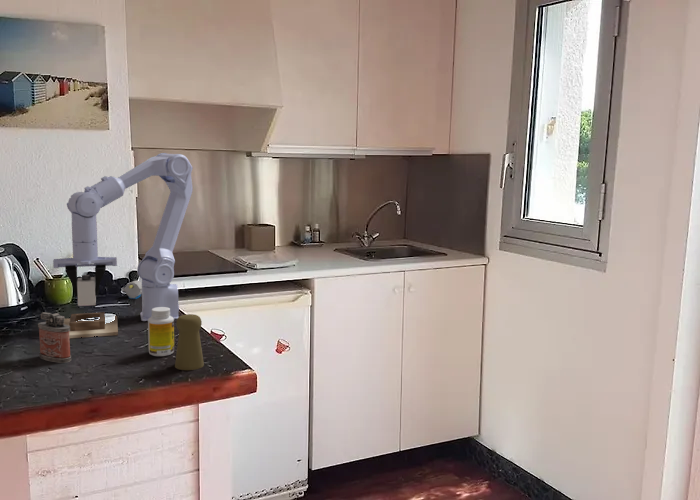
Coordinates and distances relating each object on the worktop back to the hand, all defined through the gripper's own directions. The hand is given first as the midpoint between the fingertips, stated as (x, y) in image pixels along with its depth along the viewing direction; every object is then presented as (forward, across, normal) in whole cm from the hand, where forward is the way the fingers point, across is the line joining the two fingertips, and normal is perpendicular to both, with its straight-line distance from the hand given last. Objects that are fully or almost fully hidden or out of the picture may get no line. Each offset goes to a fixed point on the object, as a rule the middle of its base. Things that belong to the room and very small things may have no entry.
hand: (86, 295), depth 166 cm
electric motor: (+9, +12, +31) cm, 34 cm away
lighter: (+9, -6, -23) cm, 25 cm away
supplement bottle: (+9, +16, -25) cm, 31 cm away
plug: (+2, 0, 0) cm, 2 cm away
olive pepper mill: (+9, +21, -35) cm, 42 cm away
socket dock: (+8, 0, 0) cm, 8 cm away
